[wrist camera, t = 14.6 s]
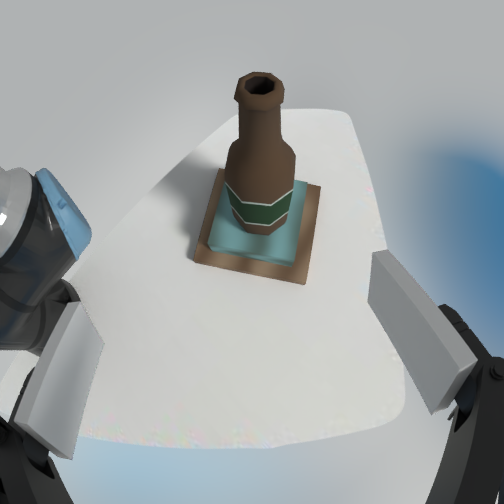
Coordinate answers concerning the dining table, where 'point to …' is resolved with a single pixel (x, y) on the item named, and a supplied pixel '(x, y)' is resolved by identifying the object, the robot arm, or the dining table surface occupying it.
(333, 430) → the dining table surface
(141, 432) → the dining table surface
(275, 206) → the beer bottle
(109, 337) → the dining table surface
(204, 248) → the display base
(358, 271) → the dining table surface
